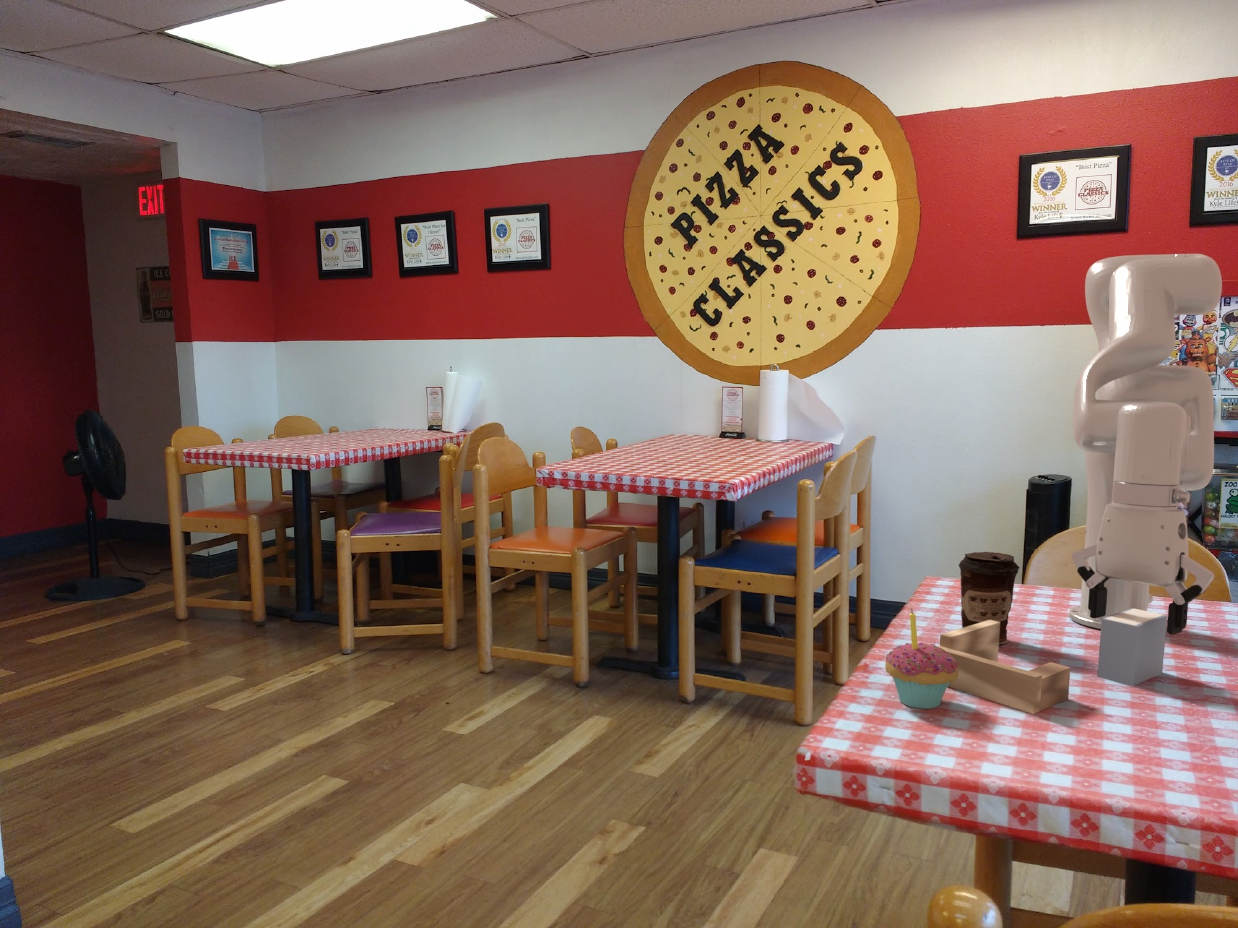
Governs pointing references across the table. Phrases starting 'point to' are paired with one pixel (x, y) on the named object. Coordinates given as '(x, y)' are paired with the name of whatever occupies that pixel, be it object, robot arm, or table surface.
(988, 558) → the coffee cup
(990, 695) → the rack
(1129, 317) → the robot arm
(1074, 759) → the table surface
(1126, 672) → the grey rectangular block
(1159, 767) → the table surface
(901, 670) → the cupcake
